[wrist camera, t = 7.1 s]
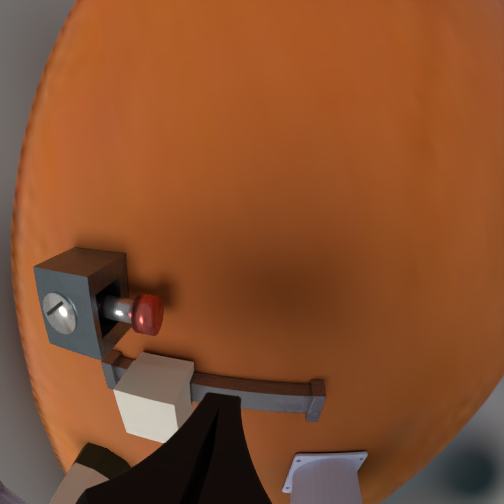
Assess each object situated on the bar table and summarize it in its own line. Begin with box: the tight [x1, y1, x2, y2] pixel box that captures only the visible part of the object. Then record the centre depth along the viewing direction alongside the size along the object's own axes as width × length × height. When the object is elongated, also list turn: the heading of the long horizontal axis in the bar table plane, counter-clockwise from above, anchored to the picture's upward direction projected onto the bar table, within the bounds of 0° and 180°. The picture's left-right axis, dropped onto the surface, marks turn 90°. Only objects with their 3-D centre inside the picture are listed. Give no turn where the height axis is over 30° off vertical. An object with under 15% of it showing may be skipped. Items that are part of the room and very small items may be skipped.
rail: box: [101, 350, 326, 422], centre depth 21 cm, size 3×18×2 cm, turn 86°
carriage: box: [113, 352, 196, 443], centre depth 19 cm, size 5×4×5 cm
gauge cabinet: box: [33, 247, 132, 360], centre depth 18 cm, size 6×5×5 cm
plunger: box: [97, 293, 164, 336], centre depth 18 cm, size 3×4×3 cm, turn 86°
